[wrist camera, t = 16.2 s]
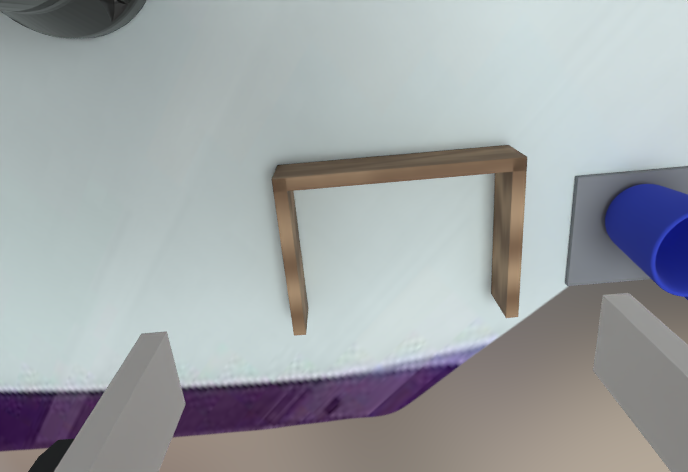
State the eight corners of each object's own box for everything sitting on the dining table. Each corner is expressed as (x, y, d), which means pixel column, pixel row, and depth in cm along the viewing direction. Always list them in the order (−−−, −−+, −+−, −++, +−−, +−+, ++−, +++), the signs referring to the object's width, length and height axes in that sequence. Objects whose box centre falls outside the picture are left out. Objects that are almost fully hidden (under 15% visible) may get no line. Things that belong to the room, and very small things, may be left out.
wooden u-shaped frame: (277, 165, 48) (271, 179, 44) (508, 145, 48) (527, 157, 43) (297, 309, 54) (294, 335, 50) (502, 292, 54) (518, 316, 49)
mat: (575, 175, 49) (578, 177, 49) (697, 165, 49) (701, 167, 49) (565, 283, 54) (567, 286, 53) (676, 273, 54) (680, 276, 53)
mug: (622, 291, 54) (683, 345, 44) (581, 201, 50) (637, 239, 40) (696, 254, 52) (775, 301, 43) (660, 158, 48) (738, 187, 39)
